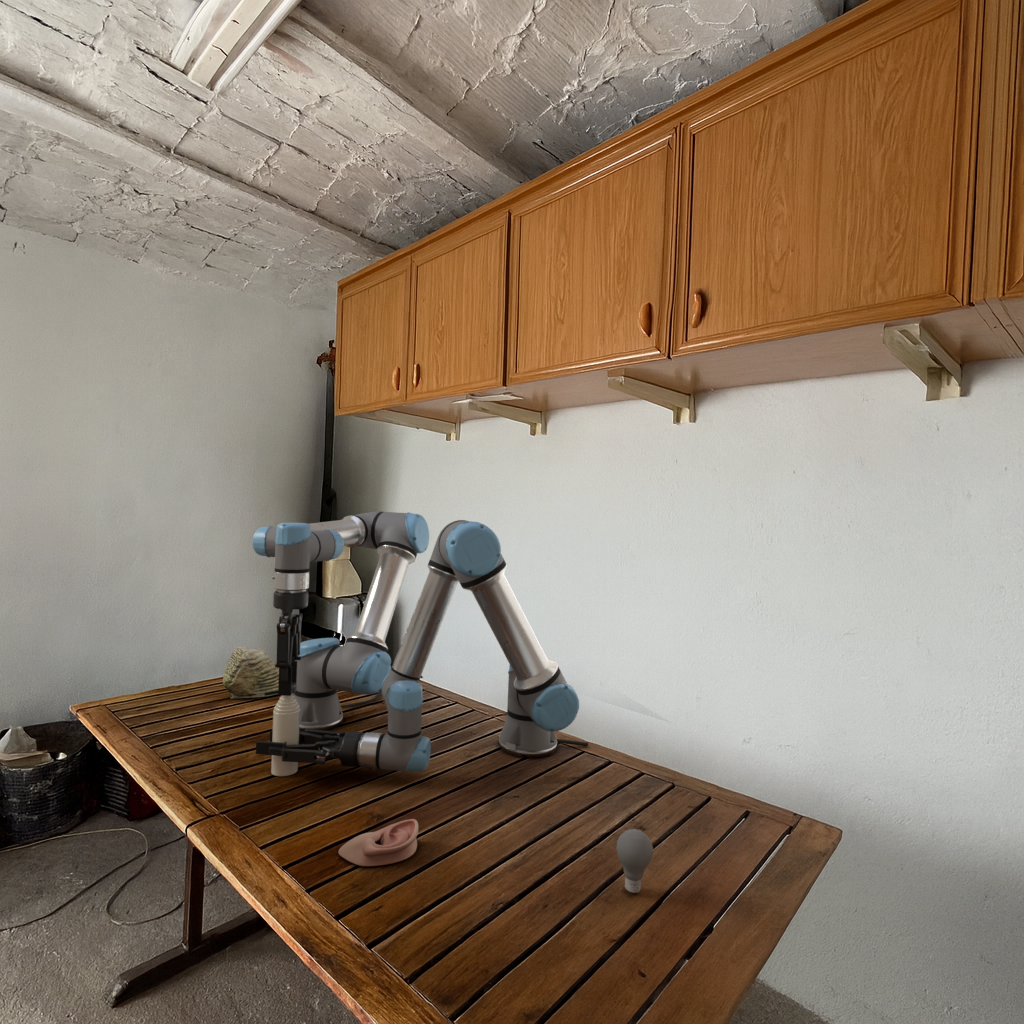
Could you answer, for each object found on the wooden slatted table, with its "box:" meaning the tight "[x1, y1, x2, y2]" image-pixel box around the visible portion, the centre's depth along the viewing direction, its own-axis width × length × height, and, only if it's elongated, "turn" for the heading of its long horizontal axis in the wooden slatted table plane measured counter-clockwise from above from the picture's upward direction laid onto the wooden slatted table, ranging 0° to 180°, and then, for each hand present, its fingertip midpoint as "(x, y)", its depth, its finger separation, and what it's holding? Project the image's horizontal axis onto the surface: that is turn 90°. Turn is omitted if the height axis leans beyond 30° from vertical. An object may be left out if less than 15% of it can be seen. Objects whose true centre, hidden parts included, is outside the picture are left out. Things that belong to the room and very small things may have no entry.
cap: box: [291, 682, 297, 694], centre depth 145 cm, size 4×4×2 cm
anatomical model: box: [337, 818, 419, 867], centre depth 114 cm, size 13×4×12 cm
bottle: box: [270, 693, 300, 777], centre depth 145 cm, size 6×6×20 cm
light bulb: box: [615, 828, 654, 894], centre depth 106 cm, size 6×6×10 cm
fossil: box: [222, 646, 279, 699], centre depth 198 cm, size 9×18×15 cm, turn 132°
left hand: (287, 691), depth 145 cm, fingers closed on cap, 4 cm apart
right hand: (264, 741), depth 146 cm, fingers closed on bottle, 6 cm apart
